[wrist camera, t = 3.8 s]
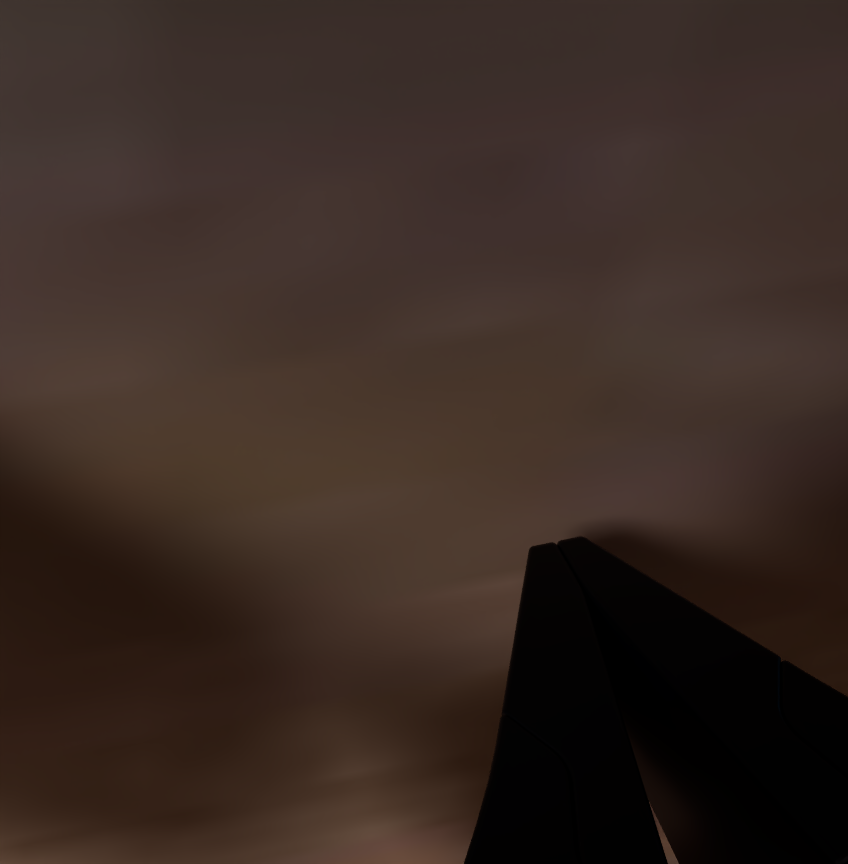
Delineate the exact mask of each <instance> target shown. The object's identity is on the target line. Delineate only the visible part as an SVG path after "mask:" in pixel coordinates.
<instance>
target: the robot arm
mask: <svg viewBox="0 0 848 864" xmlns="http://www.w3.org/2000/svg"><path fill="white" fill-rule="evenodd" d="M647 797H648V798H647ZM648 800H649V801H648ZM649 802H650V804H651V806H652V808H653V810H654V812H655V814H656V816H657V818H658V820H659V823H660V825H661V827H662V829H663V831H664V833H665V835H666V837H667V839H668V841H669V844H670V846H671V848H672V850H673V852H674V854H675V856H676V858H677V860H678V862H679V864H848V697H847V696H845V695H844V694H842V693H840V692H838V691H837V690H835V689H833V688H832V687H830V686H828V685H826V684H825V683H823V682H821V681H820V680H818V679H816V678H815V677H813V676H811V675H810V674H808V673H806V672H805V671H803V670H801V669H800V668H798V667H797V666H795V665H793V664H792V663H790V662H788V661H786V660H784V661H782V663H781V658H780V657H779V656H778V655H776V654H775V653H773V652H772V651H770V650H768V649H767V648H765V647H763V646H762V645H760V644H758V643H757V642H755V641H754V640H752V639H750V638H749V637H747V636H745V635H744V634H742V633H740V632H739V631H737V630H736V629H734V628H732V627H731V626H729V625H727V624H726V623H724V622H722V621H721V620H719V619H718V618H716V617H714V616H713V615H711V614H709V613H708V612H706V611H704V610H703V609H701V608H700V607H698V606H696V605H695V604H693V603H691V602H690V601H688V600H687V599H685V598H683V597H682V596H680V595H678V594H677V593H675V592H673V591H672V590H670V589H669V588H667V587H665V586H664V585H662V584H660V583H659V582H657V581H655V580H654V579H652V578H651V577H649V576H647V575H646V574H644V573H642V572H641V571H639V570H637V569H636V568H634V567H633V566H631V565H629V564H628V563H626V562H624V561H623V560H621V559H619V558H618V557H616V556H615V555H613V554H611V553H610V552H608V551H606V550H605V549H603V548H601V547H600V546H598V545H597V544H595V543H593V542H592V541H590V540H588V539H587V538H585V537H575V538H570V539H565V540H561V541H559V542H558V543H557V545H556V544H555V543H553V542H551V543H546V544H541V545H536V546H532V547H531V548H530V549H529V553H528V559H527V565H526V571H525V576H524V582H523V588H522V594H521V600H520V606H519V612H518V618H517V624H516V630H515V636H514V642H513V648H512V654H511V660H510V666H509V672H508V678H507V684H506V690H505V696H504V702H503V708H502V717H501V718H500V724H499V729H498V735H497V741H496V746H495V751H494V756H493V761H492V765H491V770H490V775H489V780H488V784H487V787H486V791H485V795H484V798H483V802H482V805H481V809H480V812H479V816H478V820H477V823H476V827H475V830H474V833H473V836H472V839H471V842H470V845H469V849H468V852H467V855H466V858H465V861H464V864H668V863H667V859H666V856H665V853H664V850H663V846H662V843H661V840H660V837H659V833H658V830H657V827H656V824H655V821H654V817H653V814H652V811H651V808H650V804H649Z"/></svg>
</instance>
